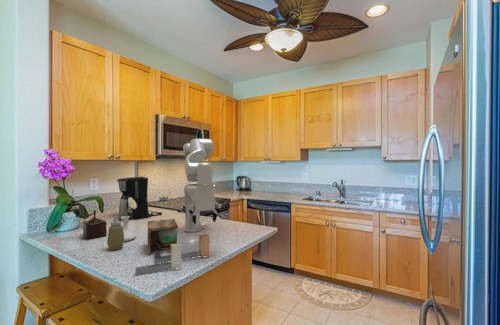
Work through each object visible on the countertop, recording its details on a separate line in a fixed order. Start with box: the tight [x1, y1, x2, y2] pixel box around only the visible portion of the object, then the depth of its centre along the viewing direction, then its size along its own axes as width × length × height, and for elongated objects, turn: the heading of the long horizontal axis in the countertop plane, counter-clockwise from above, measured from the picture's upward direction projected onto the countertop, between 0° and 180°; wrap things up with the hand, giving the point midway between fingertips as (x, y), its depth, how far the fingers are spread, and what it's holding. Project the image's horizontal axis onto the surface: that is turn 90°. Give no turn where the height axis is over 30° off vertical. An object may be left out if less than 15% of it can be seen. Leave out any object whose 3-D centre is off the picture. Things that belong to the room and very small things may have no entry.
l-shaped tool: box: [135, 242, 182, 276], centre depth 103 cm, size 18×4×10 cm, turn 113°
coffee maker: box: [116, 176, 163, 221], centre depth 204 cm, size 23×32×34 cm
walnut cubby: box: [147, 218, 179, 256], centre depth 130 cm, size 14×17×13 cm
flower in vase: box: [121, 197, 137, 242], centre depth 144 cm, size 13×11×25 cm
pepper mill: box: [72, 208, 107, 241], centre depth 147 cm, size 16×11×18 cm
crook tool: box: [154, 233, 211, 264], centre depth 118 cm, size 25×12×10 cm, turn 113°
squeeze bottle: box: [106, 214, 125, 251], centre depth 128 cm, size 8×8×18 cm
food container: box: [156, 227, 180, 250], centre depth 131 cm, size 12×6×10 cm, turn 117°
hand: (204, 222), depth 119 cm, fingers open, 9 cm apart
